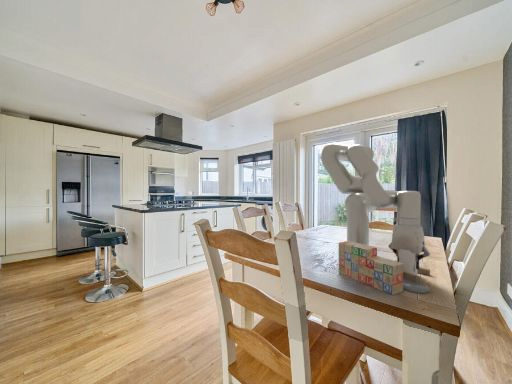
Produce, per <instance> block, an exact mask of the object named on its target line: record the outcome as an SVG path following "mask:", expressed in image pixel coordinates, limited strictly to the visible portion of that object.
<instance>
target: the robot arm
mask: <svg viewBox="0 0 512 384" xmlns="http://www.w3.org/2000/svg"><path fill="white" fill-rule="evenodd" d="M320 154H321V155H320V156H321V157H320V158H321V159H320V160H321V163H322V165H323V168H324V169H325V170H326V172H327V173H328V174H329V176H330V178H331V180H332V181H333V183H334V186H336V188H337V189H338V191H339V192H340V193H341V194H345V195H347V196H346V199H345V200H344V208H345V213H346V241H352V242H355V243H360V244H364V245H368V246H370V221H369V220H370V219H369V216H368V213H369V212H374V211H375V210H377V209H392V208H395V209H396V214H397V215H396V217H393V222H396V224H394V225H393V228H392V229H393V230H392V236H391V242H390V244H388V249H390V250H391V251H392V252H393V253H394V254H395V256H396V258H397V259H396V261H397V262H399V255H398V250H400V249H403V250H409V251H410V252H411V253H415V258H416V259H415V260H416V269H419V267H420V261H421V260H422V259H424V258H426V257H429V256H431V252H430V251H429V250H428V248H427V247H426V240H425V233H424V228H423V226H421V208H422V207H421V206H422V205H421V204H422V203H421V200H422V199H421V198H422V197H421V193H420V191H417V190H400V191H398V190H394V189H393V190H392V189H390V190H389V189H384V188H383V186H382V185H381V183H380V182H379V180H378V178H377V174H378V172H379V170H380V169H379V166H378V164H377V163H376V162H375V160H374V157H375V153H374V149H372V147H369V146H367V145H362V144H359V143H358V144H353V145H347V144H342V143H337V142H332V143H331V142H330V143H327V144H326V145H324V147H323V148H322V150H321V153H320ZM341 161H342V162H349V163H350V165H351V166H352V167H353V169H354V170H355V172H356V173H357V174H358V175H352V174H351V173H350V172H349V171H348V169H347V167H346V165H344V164H343V163H342V162H341ZM417 254H418V256H417ZM414 271H415V267H414Z"/></svg>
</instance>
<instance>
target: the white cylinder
mask: <svg viewBox="0 0 512 384" xmlns="http://www.w3.org/2000/svg"><path fill="white" fill-rule="evenodd" d="M398 255H399V262H400V263H403V264H404V268H403V272H406V273H409V274H413V275H416V276H418V272H417V270H418V269H416V260H415V259H416V258H415V253H411V252H410V251H409V250H403V249H400V250H398ZM417 256H418V254H417ZM414 267H415V271H414Z"/></svg>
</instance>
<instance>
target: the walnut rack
mask: <svg viewBox="0 0 512 384" xmlns="http://www.w3.org/2000/svg"><path fill="white" fill-rule="evenodd" d="M418 273H419V274H423V275H426V276H429V275H431V269H430V268H426V267H422V266H419V269H418V270H417V274H418ZM418 278H419V277H418V275H417V276H416V275H413V274H409V273H406V272H403V279H407V280H413V281H417V282H419V281H418V280H419V279H418Z"/></svg>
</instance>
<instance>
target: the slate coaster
mask: <svg viewBox="0 0 512 384" xmlns="http://www.w3.org/2000/svg"><path fill="white" fill-rule="evenodd" d="M403 291H407V292H410V293H415V294H425V295H426V294H428V293H430V286H428V285H427V284H425V283H423V282H420V281H413V280H407V279H403Z"/></svg>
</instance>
